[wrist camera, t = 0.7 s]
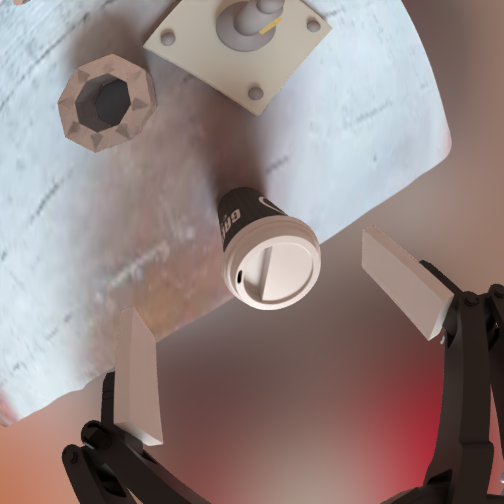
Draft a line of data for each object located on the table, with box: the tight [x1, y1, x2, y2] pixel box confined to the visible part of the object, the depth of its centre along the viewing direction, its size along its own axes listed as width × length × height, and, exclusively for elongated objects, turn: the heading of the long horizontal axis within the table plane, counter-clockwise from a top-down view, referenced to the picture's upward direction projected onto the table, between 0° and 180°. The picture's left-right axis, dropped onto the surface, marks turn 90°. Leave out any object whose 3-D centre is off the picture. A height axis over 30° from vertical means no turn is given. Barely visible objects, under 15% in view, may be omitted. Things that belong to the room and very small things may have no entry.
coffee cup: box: [218, 187, 321, 310], centre depth 31 cm, size 10×10×15 cm
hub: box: [58, 54, 157, 153], centre depth 23 cm, size 9×9×7 cm
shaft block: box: [143, 0, 332, 117], centre depth 20 cm, size 16×16×12 cm
